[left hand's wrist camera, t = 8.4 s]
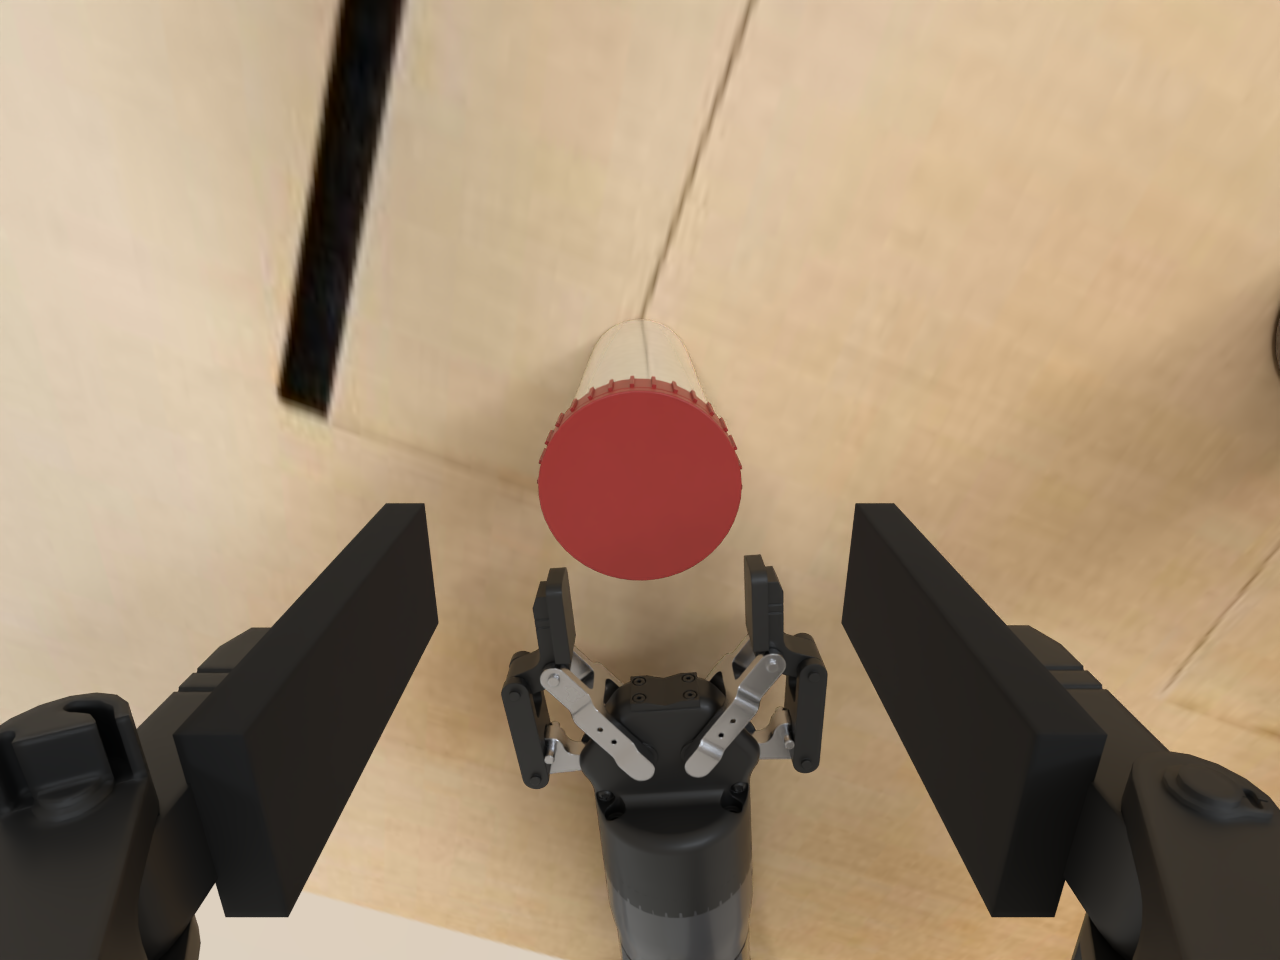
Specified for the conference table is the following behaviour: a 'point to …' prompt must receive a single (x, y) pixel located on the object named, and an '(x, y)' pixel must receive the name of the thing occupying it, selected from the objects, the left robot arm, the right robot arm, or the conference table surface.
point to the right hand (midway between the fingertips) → (654, 569)
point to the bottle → (640, 357)
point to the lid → (639, 479)
